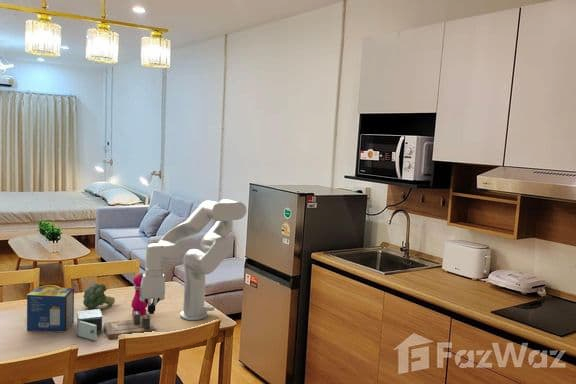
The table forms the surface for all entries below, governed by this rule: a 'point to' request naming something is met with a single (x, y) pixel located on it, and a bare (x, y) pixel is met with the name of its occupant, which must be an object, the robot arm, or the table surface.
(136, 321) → the fader knob
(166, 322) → the table surface
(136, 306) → the pepper mill
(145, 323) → the fader board
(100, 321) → the box
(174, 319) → the table surface
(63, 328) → the protein box
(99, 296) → the vegetable
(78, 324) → the door
